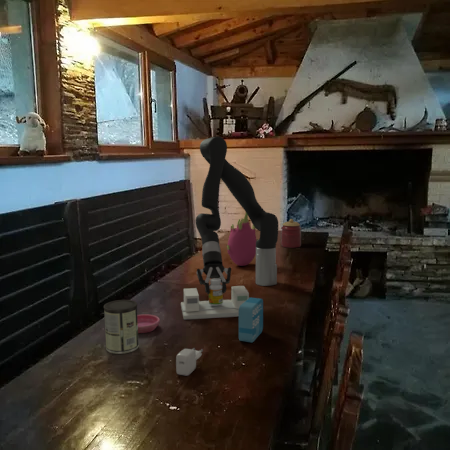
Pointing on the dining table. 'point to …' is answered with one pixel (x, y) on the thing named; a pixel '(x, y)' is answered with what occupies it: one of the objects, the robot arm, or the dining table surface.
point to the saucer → (147, 323)
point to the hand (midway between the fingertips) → (216, 292)
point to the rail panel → (204, 310)
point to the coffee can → (121, 326)
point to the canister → (291, 234)
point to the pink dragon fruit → (242, 242)
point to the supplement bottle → (215, 292)
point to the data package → (250, 319)
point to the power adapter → (187, 361)
